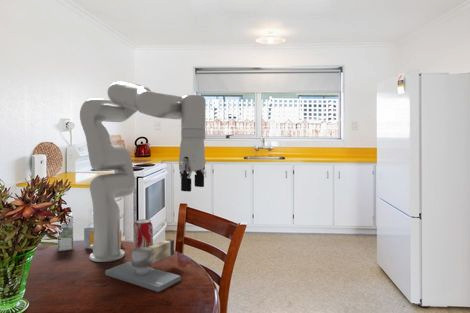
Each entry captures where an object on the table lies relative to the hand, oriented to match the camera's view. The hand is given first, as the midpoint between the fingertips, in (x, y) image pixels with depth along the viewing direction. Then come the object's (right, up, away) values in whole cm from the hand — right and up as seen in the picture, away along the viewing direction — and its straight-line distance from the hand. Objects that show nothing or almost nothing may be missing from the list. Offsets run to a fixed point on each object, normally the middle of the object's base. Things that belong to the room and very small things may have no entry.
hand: (192, 188), depth 112 cm
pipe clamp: (-41, -27, +35) cm, 61 cm away
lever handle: (-14, -25, +8) cm, 30 cm away
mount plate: (-17, -29, +3) cm, 34 cm away
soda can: (-24, -28, +31) cm, 48 cm away
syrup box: (-56, -28, +32) cm, 70 cm away
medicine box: (-47, -27, +36) cm, 65 cm away
